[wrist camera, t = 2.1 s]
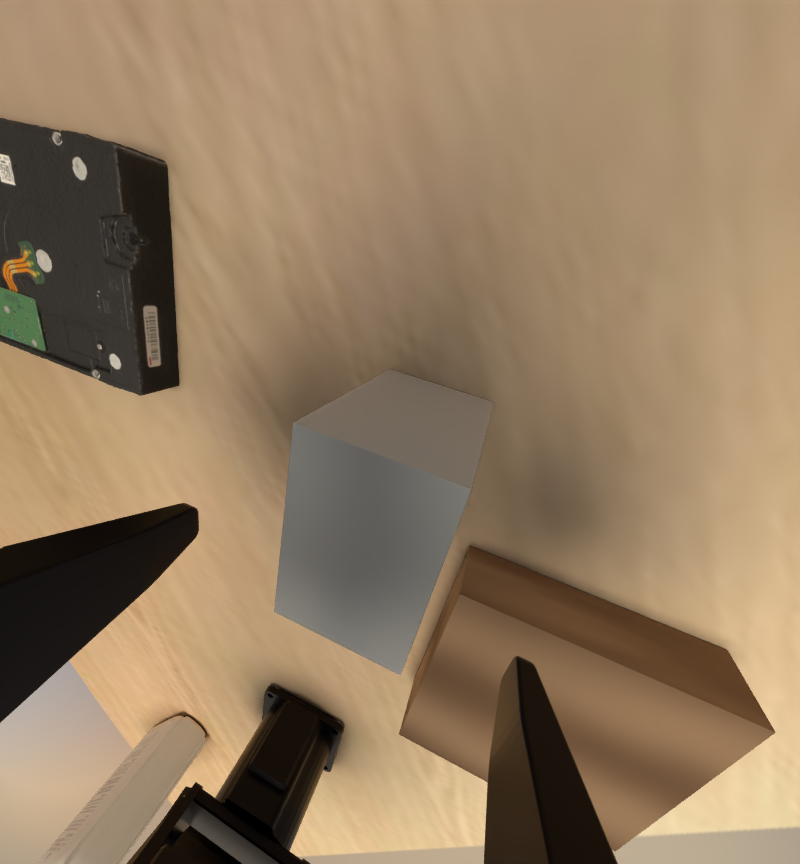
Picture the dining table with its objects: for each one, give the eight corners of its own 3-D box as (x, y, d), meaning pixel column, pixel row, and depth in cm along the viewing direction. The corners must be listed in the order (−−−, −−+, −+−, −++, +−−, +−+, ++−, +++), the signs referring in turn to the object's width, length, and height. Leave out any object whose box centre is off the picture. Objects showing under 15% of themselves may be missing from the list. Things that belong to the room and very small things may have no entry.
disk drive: (180, 160, 15) (-53, 115, 18) (112, 133, 12) (-146, 85, 15) (191, 386, 19) (2, 320, 22) (142, 399, 17) (-63, 323, 20)
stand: (601, 772, 19) (615, 851, 16) (414, 678, 21) (399, 734, 18) (727, 650, 14) (775, 732, 11) (470, 545, 16) (459, 594, 14)
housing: (445, 534, 17) (400, 675, 10) (361, 500, 18) (274, 611, 11) (494, 401, 14) (471, 489, 7) (390, 368, 15) (293, 422, 8)
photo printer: (176, 753, 38) (38, 936, 27) (149, 726, 38) (-2, 900, 27) (216, 737, 33) (67, 952, 22) (184, 706, 33) (19, 908, 22)
